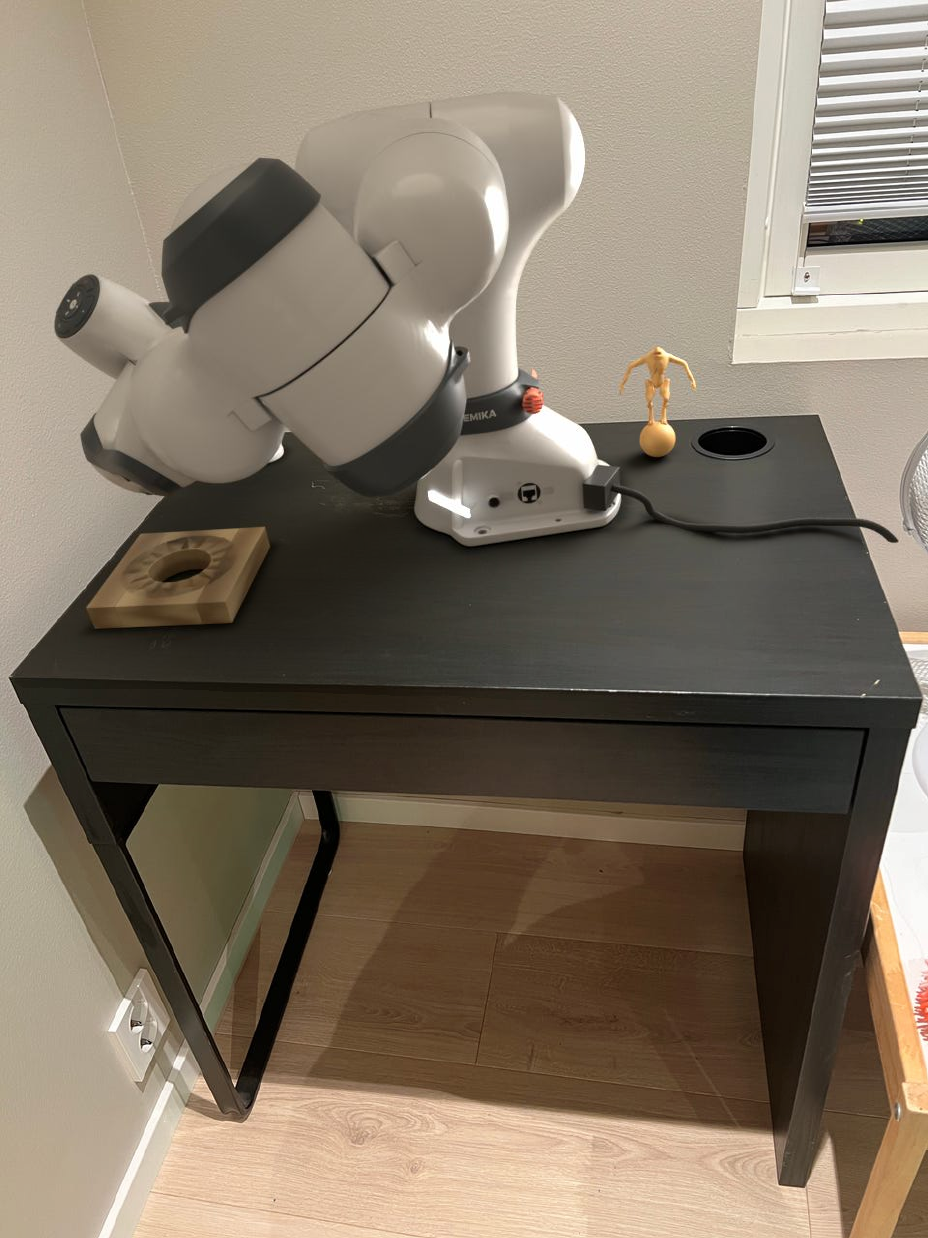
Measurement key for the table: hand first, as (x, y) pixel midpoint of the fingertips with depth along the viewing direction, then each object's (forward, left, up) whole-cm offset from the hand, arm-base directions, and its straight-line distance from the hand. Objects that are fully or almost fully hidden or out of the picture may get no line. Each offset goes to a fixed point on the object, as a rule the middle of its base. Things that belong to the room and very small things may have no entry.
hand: (258, 418), depth 116 cm
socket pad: (0, +31, -5) cm, 31 cm away
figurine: (-49, +7, -5) cm, 49 cm away
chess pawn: (0, +1, -5) cm, 5 cm away
